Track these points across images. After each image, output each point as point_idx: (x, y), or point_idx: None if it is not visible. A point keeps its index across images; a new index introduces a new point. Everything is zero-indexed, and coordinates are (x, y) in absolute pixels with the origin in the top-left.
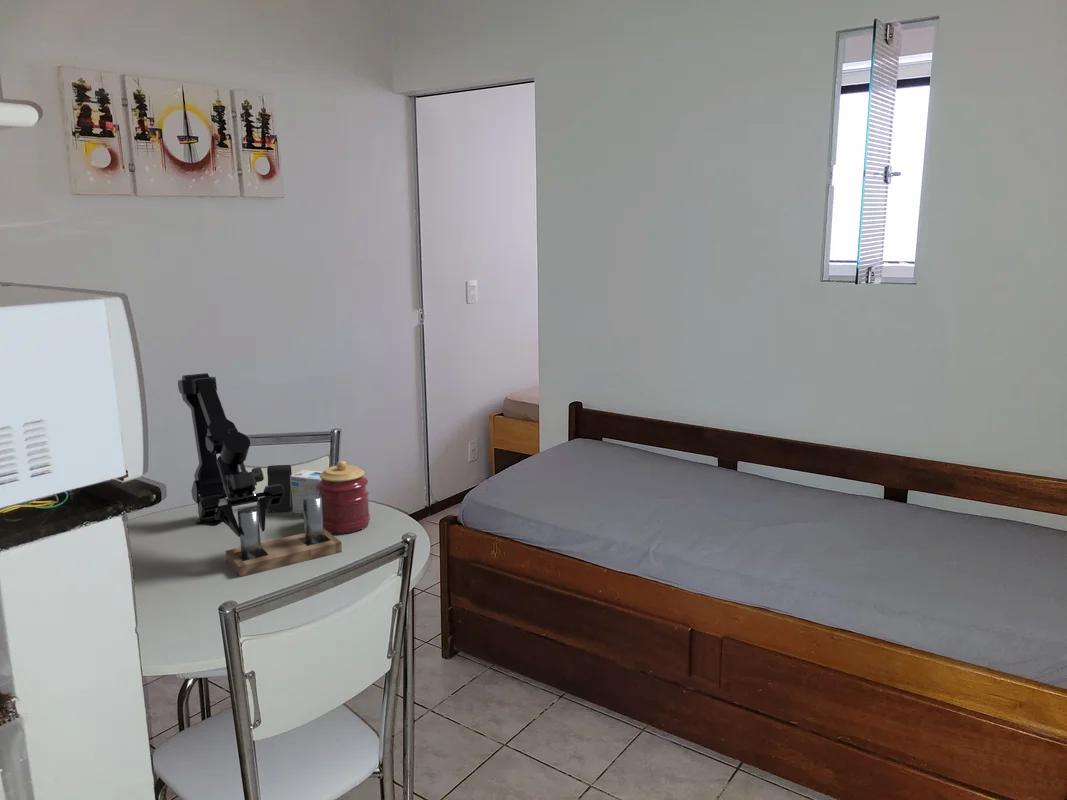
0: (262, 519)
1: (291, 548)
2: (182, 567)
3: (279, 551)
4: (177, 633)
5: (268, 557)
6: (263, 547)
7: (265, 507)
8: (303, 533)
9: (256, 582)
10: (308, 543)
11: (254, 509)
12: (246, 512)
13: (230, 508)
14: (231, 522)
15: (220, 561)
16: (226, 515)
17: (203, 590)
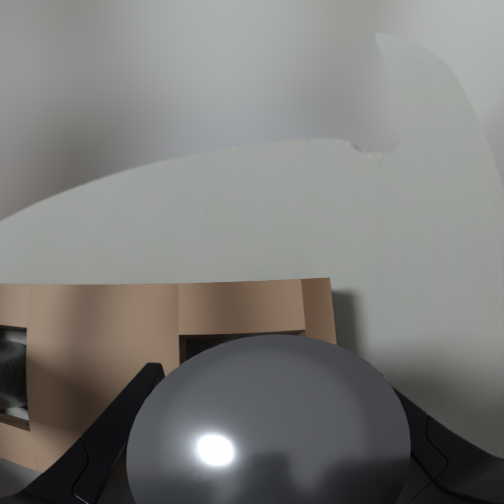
0: (126, 414)
1: (76, 345)
2: None
3: (126, 346)
4: (440, 98)
5: (190, 306)
6: None
7: (36, 490)
8: (10, 458)
9: (273, 213)
10: (16, 361)
11: (166, 490)
12: (306, 431)
13: (499, 490)
14: (426, 416)
15: None
16: (486, 455)
17: (425, 249)
